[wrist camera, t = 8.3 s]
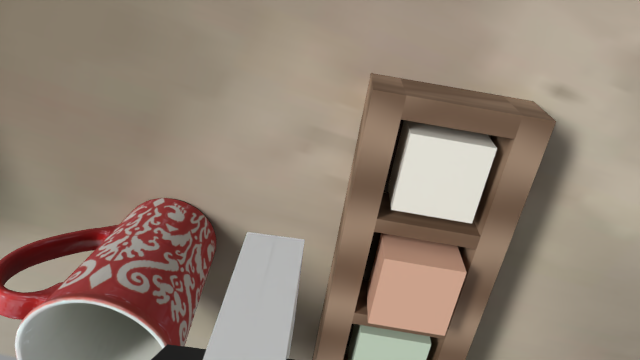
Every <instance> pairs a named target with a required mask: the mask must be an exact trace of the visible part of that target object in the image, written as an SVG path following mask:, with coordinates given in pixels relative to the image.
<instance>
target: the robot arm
mask: <svg viewBox="0 0 640 360" xmlns="http://www.w3.org/2000/svg"><path fill="white" fill-rule="evenodd" d="M304 241H305V239H297V238H289V237H282V236H274V235H267V234H259V233H251V232H247V234H246V237H245V240H244V243H243V246H242V249H241V251H240V254H239V257H238V260H237V263H236V266H235V269H234V272H233V274H232V277H231V280H230V283H229V286H228V289H227V292H226V295H225V297H224V300H223V303H222V306H221V309H220V312H219V315H218V317H217V320H216V323H215V326H214V329H213V332H212V335H211V338H210V340H209V343H208V346H207V349H199V348H192V347H184V346H177V345H169V344H167V345H166V346H165V347H164V348H163V349H162V350H161V351H160V352H159V353H158V354H156V355H155V356H154V357H153V358H152V359H151V360H293V359H289V355H290V348H291V342H292V335H293V328H294V322H295V314H296V306H297V298H298V290H299V282H300V273H301V265H302V257H303V249H304Z"/></svg>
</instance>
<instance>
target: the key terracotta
mask: <svg viewBox="0 0 640 360" xmlns="http://www.w3.org/2000/svg"><path fill="white" fill-rule="evenodd" d="M466 273H467V272H466V269H465V266H464V263H463V260H462V258H461V255H460V252H459V249H458V246H454V245H449V244H443V243H437V242H431V241H425V240H419V239H413V238H407V237H402V236H396V235H390V234H384V233H381V235H380V239H379V243H378V247H377V251H376V255H375V259H374V263H373V267H372V271H371V275H370V279H369V284H368V288H367V312H368V323H370V324H376V325H382V326H388V327H394V328H400V329H406V330H412V331H418V332H424V333H430V334H436V335H442V336H445V334H446V331H447V328H448V325H449V322H450V319H451V316H452V313H453V311H454V308H455V305H456V302H457V299H458V296H459V293H460V290H461V288H462V285H463V282H464V279H465V276H466Z"/></svg>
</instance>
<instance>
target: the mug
mask: <svg viewBox="0 0 640 360" xmlns="http://www.w3.org/2000/svg"><path fill="white" fill-rule="evenodd" d="M91 250H95V251H94V252H93V253H92V254H91V255H90V256H89V257H88V258H87V259H86V260H85V261H84V262H83V263H82V264H81V265H80V266H79V267H78V268H77V269H76V270H75V271H74V272H73V273H72V274H71V275H70V276H69V277H68V278H67V279H66V280H65V281H64V282H61V283H58V284H56V285H54V286H52V287H50V288H48V289H45V290H41V291H36V292H28V293H21V292H15V291H12V290H9V289H7V288H5V287H4V286H3V285H4V284H5V283H6V282H7V281H8V280H9V279H10V278H11V277H12V276H14V275H15V274H17V273H18V272H20V271H22V270H24V269H26V268H28V267H31V266H34V265H36V264H39V263H42V262H45V261H48V260H52V259H55V258H59V257H62V256H66V255H71V254H75V253H79V252H84V251H91ZM215 250H216V236H215V232H214V230H213V227H212V225H211V223H210V222H209V221H208V219H207V218H206V217H205V215H204V214H203V213H202V212H200V211H199V210H198V209H196V208H195V207H193V206H191V205H189V204H187V203H186V202H183V201H180V200H176V199H169V198H158V199H153V200H149V201H146V202H144V203H142V204H141V205H139V206H138V207H136V208H135V209H134V210H133V211H132V212H131V213H130V214H129V215H128V216H127V217H126V218H125V219H124V221H123V222H122V223H121V224H119V225H114V226H108V227H102V228H93V229H86V230H81V231H76V232H71V233H66V234H62V235H58V236H53V237H50V238H46V239H42V240H39V241H36V242H33V243H30V244H27V245H25V246H23V247H21V248H19V249H17V250H15V251H13V252H11V253H10V254H8V255H6V256H5V257H4V258H3V259H1V260H0V315H2V316H5V317H8V318H12V319H23V320H22V322H21V324H20V325H19V327H18V330H17V332H16V339H15V352H16V357H17V360H151V359H152V358H153V357H154V356H155V355H156V354H158V353H159V352H160V351H161V350H162V349H163V348H164V347H165V346H166V345H167V344H169V345H177V346H185V342H186V339H187V336H188V333H189V330H190V327H191V324H192V321H193V318H194V314H195V311H196V308H197V305H198V302H199V299H200V296H201V293H202V291H203V287H204V284H205V281H206V278H207V275H208V272H209V269H210V266H211V263H212V260H213V257H214V254H215Z"/></svg>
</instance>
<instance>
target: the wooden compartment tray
mask: <svg viewBox="0 0 640 360" xmlns="http://www.w3.org/2000/svg"><path fill="white" fill-rule="evenodd" d="M401 120H407V121H413V122H419V123H424V124H430V125H436V126H442V127H447V128H453V129H459V130H465V131H471V132H476V133H482V134H488V135H491V137H490V139H491V140H492V142H493V143H494V144H495V146H496V147H497V151H496V154H495V157H494V160H493V163H492V166H491V168H490V171H489V174H488V177H487V180H486V183H485V186H484V189H483V192H482V195H481V198H480V201H479V204H478V207H477V210H476V213H475V216H474V219H473V222H472V223H466V222H460V221H454V220H448V219H442V218H436V217H431V216H425V215H419V214H413V213H407V212H401V211H395V210H391V204H390V197H389V193H384V192H383V191H384V187H385V183H386V179H387V175H388V171H389V167H390V162H391V158H392V154H393V150H394V146H395V142H396V137H397V133H398V129H399V125H400V121H401ZM555 123H556V121H555V120H554V119H553V118H552V117H551V116H549V115H548V114H547V113H546V112H545V111H544V110H543V109H541V108H540V107H539V106H538V105H537V104H536V103H535V102H533V101H528V100H522V99H516V98H511V97H505V96H499V95H493V94H488V93H482V92H476V91H470V90H465V89H459V88H453V87H447V86H442V85H436V84H430V83H424V82H419V81H413V80H407V79H401V78H396V77H390V76H384V75H378V74H373V73H371V76H370V81H369V86H368V91H367V95H366V100H365V105H364V110H363V115H362V120H361V125H360V130H359V134H358V139H357V144H356V149H355V154H354V159H353V164H352V169H351V174H350V178H349V183H348V188H347V193H346V198H345V203H344V208H343V213H342V217H341V222H340V227H339V232H338V237H337V242H336V247H335V252H334V257H333V261H332V266H331V271H330V276H329V281H328V286H327V291H326V296H325V300H324V305H323V310H322V315H321V320H320V325H319V330H318V335H317V340H316V344H315V349H314V354H313V359H312V360H348V354H345V350H346V345H347V341H348V337H349V333H350V329H351V325H352V324H358V325H364V326H370V327H376V328H382V329H388V330H394V331H400V332H406V333H412V334H418V335H424V336H430V340H431V347H430V350H429V353H428V356H427V359H426V360H465V359H466V357H467V354H468V351H469V349H470V346H471V343H472V341H473V338H474V336H475V333H476V330H477V328H478V325H479V322H480V320H481V317H482V315H483V312H484V309H485V307H486V304H487V301H488V299H489V296H490V294H491V291H492V288H493V286H494V283H495V280H496V278H497V275H498V273H499V270H500V267H501V265H502V262H503V260H504V257H505V254H506V252H507V249H508V246H509V244H510V241H511V239H512V236H513V233H514V231H515V228H516V225H517V223H518V220H519V218H520V215H521V212H522V210H523V207H524V204H525V202H526V199H527V197H528V194H529V191H530V189H531V186H532V183H533V181H534V178H535V176H536V173H537V170H538V168H539V165H540V163H541V160H542V157H543V155H544V152H545V149H546V147H547V144H548V142H549V139H550V136H551V134H552V131H553V128H554V126H555ZM374 232H378V233H384V234H390V235H396V236H402V237H407V238H413V239H419V240H425V241H431V242H437V243H443V244H449V245H454V246H458V249H459V252H460V255H461V258H462V260H463V263H464V266H465V269H466V272H467V273H466V276H465V279H464V282H463V285H462V288H461V290H460V293H459V296H458V299H457V302H456V305H455V308H454V311H453V313H452V316H451V319H450V322H449V325H448V328H447V331H446V334H445V336H442V335H436V334H430V333H424V332H418V331H412V330H406V329H400V328H394V327H388V326H382V325H376V324H370V323H368V312H367V288H368V284H369V281H367V280H362V279H363V275H364V271H365V266H366V262H367V258H368V254H369V250H370V246H371V241H372V237H373V233H374Z"/></svg>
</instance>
